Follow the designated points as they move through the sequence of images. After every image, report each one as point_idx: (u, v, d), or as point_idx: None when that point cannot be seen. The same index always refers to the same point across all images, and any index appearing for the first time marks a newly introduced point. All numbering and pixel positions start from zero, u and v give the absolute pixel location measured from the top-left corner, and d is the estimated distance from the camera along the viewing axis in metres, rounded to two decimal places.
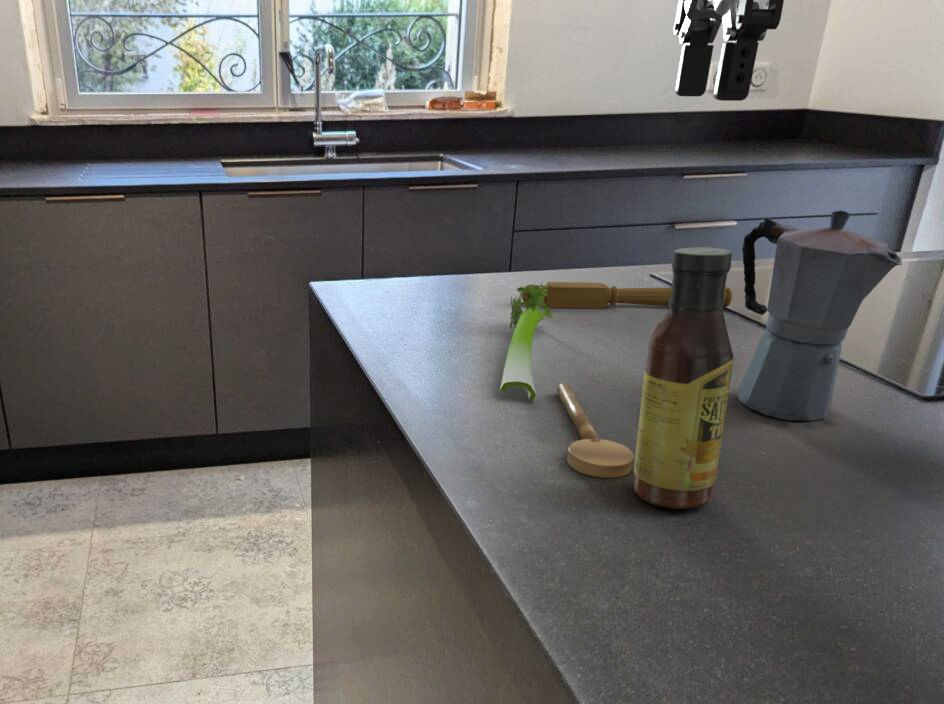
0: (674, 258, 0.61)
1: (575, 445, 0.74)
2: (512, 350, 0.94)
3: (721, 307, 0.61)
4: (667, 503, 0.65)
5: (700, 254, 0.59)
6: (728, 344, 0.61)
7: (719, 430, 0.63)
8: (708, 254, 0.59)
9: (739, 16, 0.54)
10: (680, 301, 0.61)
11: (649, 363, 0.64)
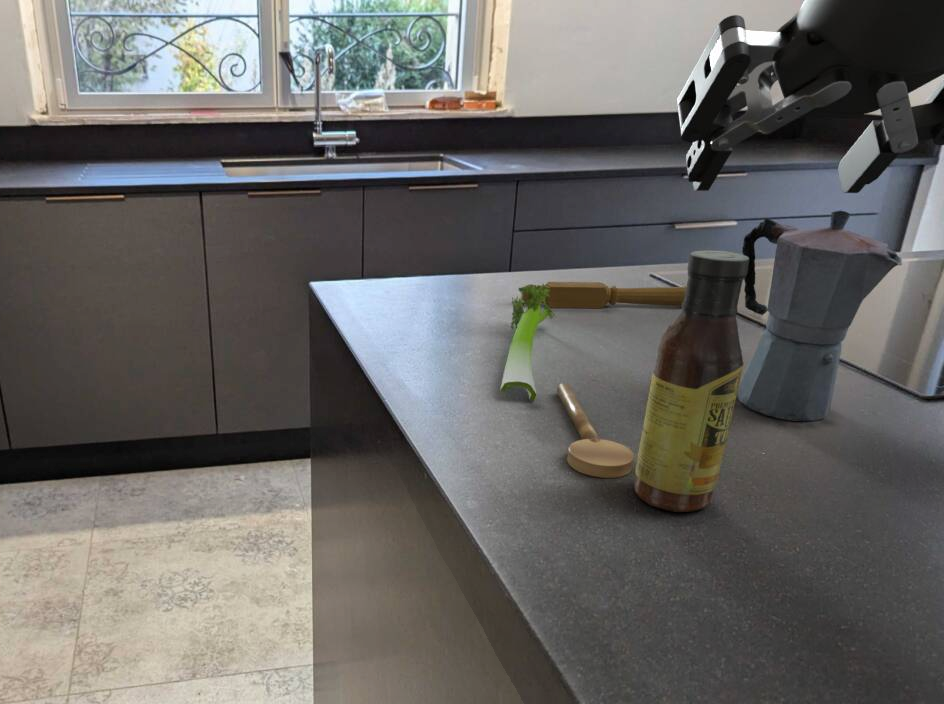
0: (691, 261, 0.60)
1: (575, 445, 0.74)
2: (513, 350, 0.94)
3: (735, 313, 0.60)
4: (667, 506, 0.65)
5: (718, 259, 0.58)
6: (739, 350, 0.61)
7: (724, 436, 0.63)
8: (726, 259, 0.58)
9: None
10: (694, 305, 0.60)
11: (658, 365, 0.63)
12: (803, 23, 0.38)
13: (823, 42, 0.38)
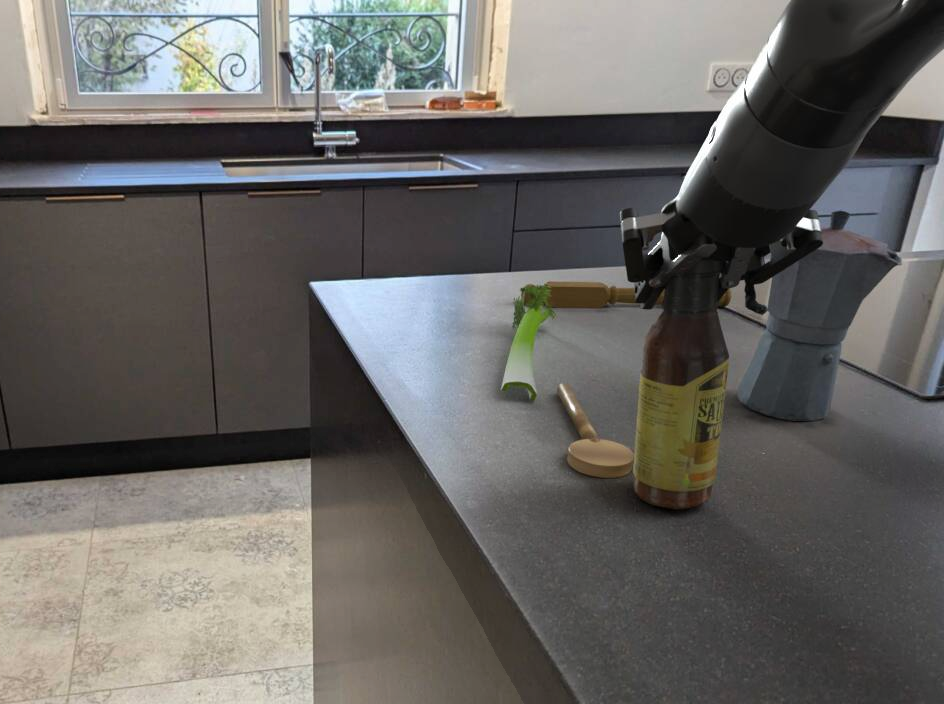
0: None
1: (575, 445, 0.74)
2: (514, 350, 0.93)
3: (715, 307, 0.60)
4: (667, 504, 0.65)
5: None
6: (723, 344, 0.61)
7: (716, 430, 0.63)
8: None
9: None
10: (673, 304, 0.60)
11: (644, 365, 0.63)
12: (679, 206, 0.53)
13: None
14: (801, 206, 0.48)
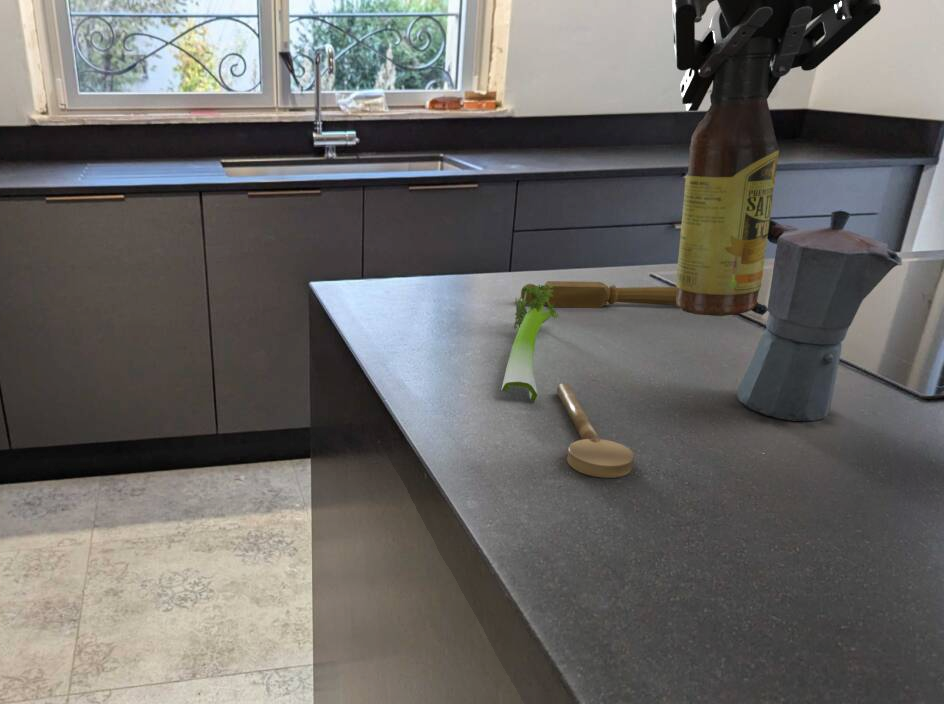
0: None
1: (575, 445, 0.74)
2: (515, 350, 0.93)
3: (765, 94, 0.59)
4: (712, 310, 0.64)
5: None
6: (773, 134, 0.60)
7: (764, 228, 0.62)
8: None
9: None
10: (723, 91, 0.59)
11: (691, 164, 0.62)
12: None
13: None
14: None
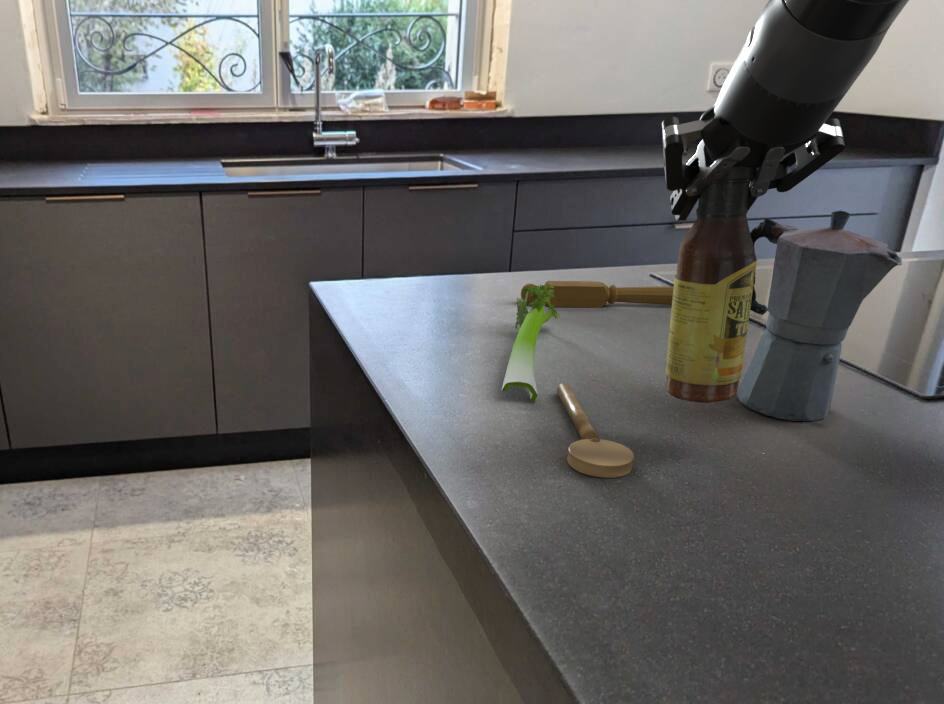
0: None
1: (575, 445, 0.74)
2: (515, 350, 0.93)
3: (745, 213, 0.67)
4: (697, 398, 0.71)
5: None
6: (752, 247, 0.67)
7: (744, 328, 0.69)
8: None
9: None
10: (707, 209, 0.67)
11: (679, 269, 0.70)
12: (717, 111, 0.60)
13: (730, 123, 0.60)
14: (829, 101, 0.54)
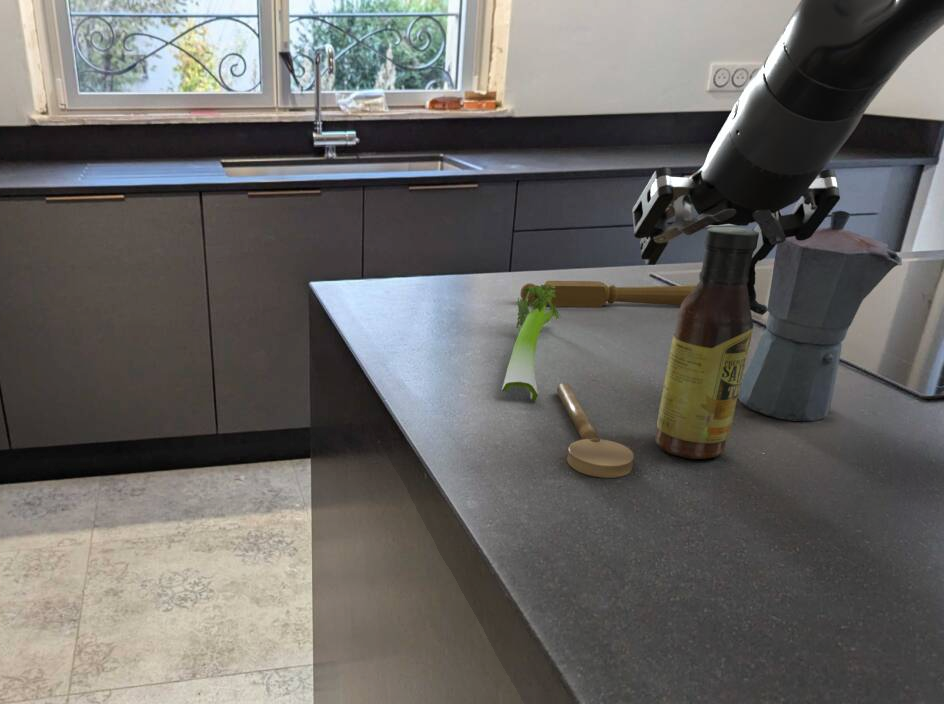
0: (707, 236, 0.69)
1: (575, 445, 0.74)
2: (516, 350, 0.93)
3: (746, 281, 0.69)
4: (685, 453, 0.74)
5: (731, 233, 0.67)
6: (749, 314, 0.70)
7: (735, 390, 0.72)
8: (738, 234, 0.67)
9: None
10: (710, 275, 0.69)
11: (678, 328, 0.72)
12: (704, 176, 0.62)
13: None
14: (810, 172, 0.56)
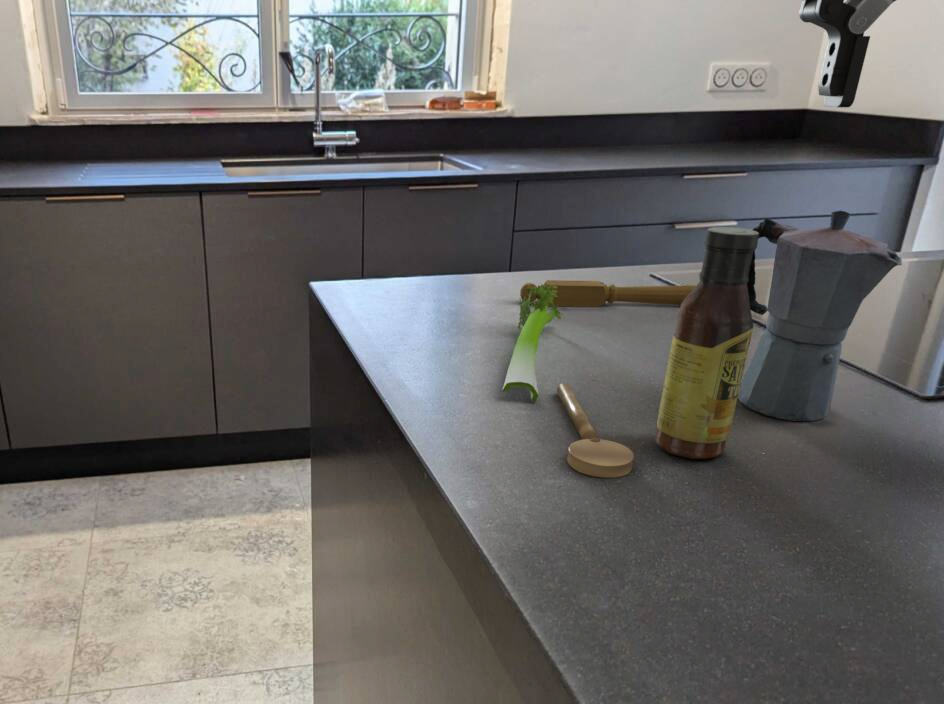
0: (707, 236, 0.69)
1: (575, 445, 0.74)
2: (517, 350, 0.93)
3: (746, 281, 0.69)
4: (685, 453, 0.74)
5: (731, 233, 0.67)
6: (749, 314, 0.70)
7: (735, 390, 0.72)
8: (738, 234, 0.67)
9: None
10: (710, 275, 0.69)
11: (678, 328, 0.72)
12: None
13: None
14: None
